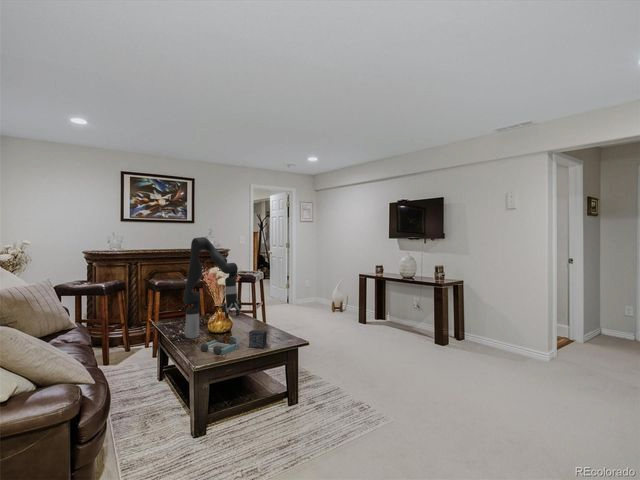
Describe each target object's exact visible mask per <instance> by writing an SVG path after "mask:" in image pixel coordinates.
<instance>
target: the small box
mask: <svg viewBox="0 0 640 480" xmlns="http://www.w3.org/2000/svg"><path fill="white" fill-rule="evenodd" d="M267 332H268V331H267V330H257V329H252V330H251V331H248V348H251V349H252V348H253V349H261V350H263V349H265V348H266V347H267V346H268V345H267V339H268V338H267Z"/></svg>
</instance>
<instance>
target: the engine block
mask: <svg viewBox="0 0 640 480" xmlns="http://www.w3.org/2000/svg"><path fill="white" fill-rule="evenodd" d="M231 340H234V341H235V342H236V345H237V346H238V345H240V344H241V343H242V336H240V335H237V334H236V335H235V334H233V335H230V336H229V341H231Z"/></svg>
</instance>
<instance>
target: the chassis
mask: <svg viewBox="0 0 640 480" xmlns="http://www.w3.org/2000/svg"><path fill="white" fill-rule="evenodd" d="M199 347H200V348H199V350H200V351H202V352H203V353H204V352H209V353H213V354H215V355H222V356H224V355H227V354H229V353H231V352H233V351H236V350H237V348H238V345H236V342H235V341H234V340H231V341H230V340H229V341H228V343H224V339H223V338H222V337H218V338H217V339H216V340H215V339H214V340H211V341H208V342H204V343H202V344H200V345H199Z"/></svg>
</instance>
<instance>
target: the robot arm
mask: <svg viewBox="0 0 640 480" xmlns="http://www.w3.org/2000/svg"><path fill="white" fill-rule="evenodd" d="M200 251H206V252H208V253H209V254H210V258H211V260H212V262H214V263H215V265H217V266H218V267H219V269H220V271H221V272H222V273H223V274H226V275H228V276H227V277H226V278H224V283H225V284H224V285H225V286H224V287H225V288H224V291H225V293H224V294H225V302H222V303H221V312H222V313H224V318H225V319H229V315H230V314H229V313H230V312H229V311H230V310H231V309H234V310H235V316H236V317H239V316H240V310H242V308H243V306H242V300H241V299H238V289H237V277H238V276H237V275H238V270H239V268H238V264H236V263H235V262H228V259H227V258H226V256H224V255H223V254H222V253H220V252H219V250H218V249H217V248H216V247H215V246H214V245H213V244H212V242H211V241H210V240H209V239H208V238H207V237H204V236H202V237H195V238H193V239H192V240H191V243H190V259H189V266H188V270H187V271H188V272H187V278H186V284H185V289H184V292H183V298H182V300H183V303H184V305H185V306H188V305H191V306H190V307H189V308H187V309H186V310H185V323H184V338H186V339H196V338H198V337H200V309H201V306H200V305H201V294H200V292H199V291H198V290H195V291H194V290H193V289H194V287H195V285H197V284H198V282H199V280H200V279H201V277H202V273H203V265H202V262H201V261H200Z"/></svg>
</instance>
